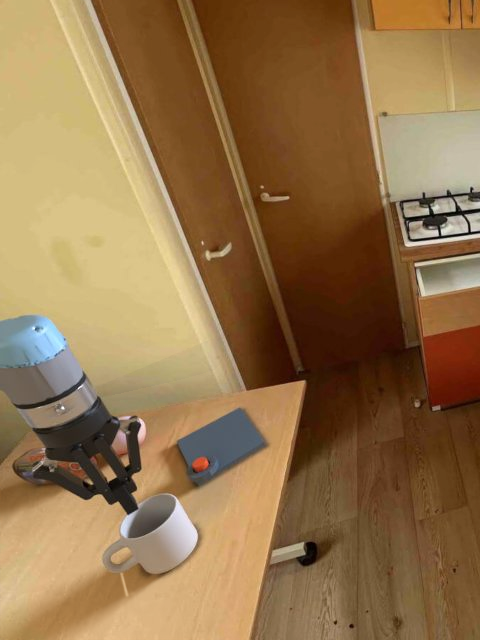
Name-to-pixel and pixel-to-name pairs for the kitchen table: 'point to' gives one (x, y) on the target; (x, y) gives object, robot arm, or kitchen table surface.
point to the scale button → (200, 464)
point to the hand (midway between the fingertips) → (131, 507)
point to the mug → (154, 536)
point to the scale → (220, 445)
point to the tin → (25, 461)
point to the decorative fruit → (120, 439)
